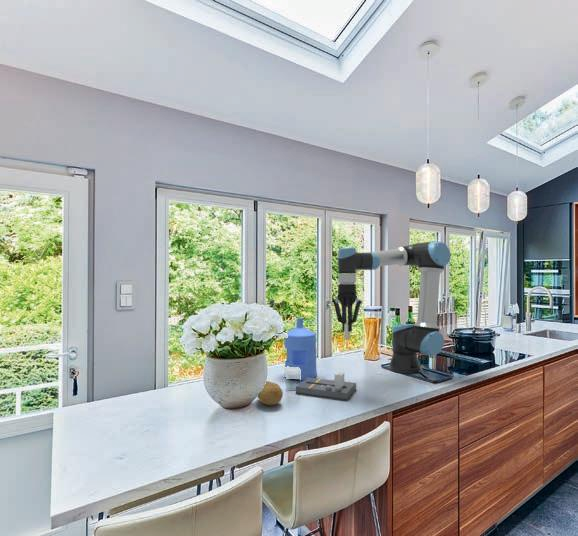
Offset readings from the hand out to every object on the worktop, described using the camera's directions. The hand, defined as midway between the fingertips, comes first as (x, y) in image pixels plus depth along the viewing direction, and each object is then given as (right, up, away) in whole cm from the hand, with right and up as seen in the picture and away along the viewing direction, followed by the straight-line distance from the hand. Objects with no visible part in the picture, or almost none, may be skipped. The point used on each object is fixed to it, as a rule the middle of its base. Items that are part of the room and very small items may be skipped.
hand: (347, 339), depth 154 cm
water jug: (-19, -23, +23) cm, 37 cm away
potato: (-32, -23, -13) cm, 42 cm away
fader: (-4, -21, -3) cm, 22 cm away
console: (-9, -22, -1) cm, 24 cm away
